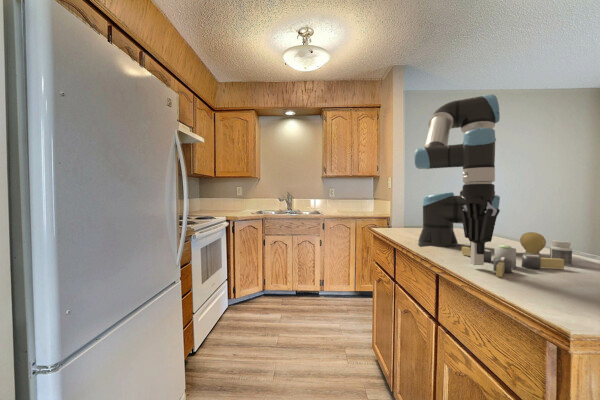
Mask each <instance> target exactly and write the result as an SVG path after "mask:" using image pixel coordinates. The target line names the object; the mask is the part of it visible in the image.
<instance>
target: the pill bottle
mask: <svg viewBox="0 0 600 400" xmlns="http://www.w3.org/2000/svg"><path fill="white" fill-rule="evenodd" d="M571 245H572V244H571V241H569V240H561V239H552V240H551V246H550V247H549V258H558V259H563V260H564V267H566V266H568V267H569V266H570V267H571V266H573V249H572V248H571Z"/></svg>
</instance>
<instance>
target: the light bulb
mask: <svg viewBox="0 0 600 400" xmlns="http://www.w3.org/2000/svg"><path fill="white" fill-rule="evenodd" d="M519 243H520V245H521V246H522V248H523V249H524V255H538V256H539V257H540V258H541V253H540V252H541V251H543V249H544V248H545V247H546V245H547V240H546V238H545V237H544V235H542V234H541V233H538V232H533V231H529V232H525V233H523V234H522V235H521V236H520V238H519Z"/></svg>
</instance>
